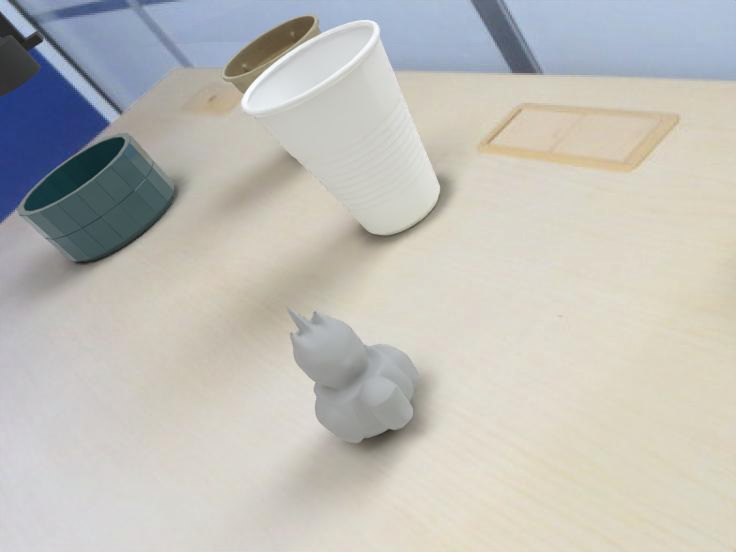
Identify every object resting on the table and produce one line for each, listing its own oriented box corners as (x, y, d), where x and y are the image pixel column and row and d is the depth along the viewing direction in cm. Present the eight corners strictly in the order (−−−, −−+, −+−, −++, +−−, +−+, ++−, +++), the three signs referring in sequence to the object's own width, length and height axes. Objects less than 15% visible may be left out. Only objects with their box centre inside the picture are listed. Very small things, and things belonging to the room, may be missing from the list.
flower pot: (351, 157, 64) (284, 59, 58) (271, 178, 68) (200, 88, 61) (392, 97, 69) (334, 1, 63) (315, 120, 73) (254, 32, 67)
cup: (401, 168, 59) (312, 28, 51) (491, 166, 53) (407, 9, 45) (321, 253, 55) (211, 116, 47) (410, 261, 49) (303, 107, 41)
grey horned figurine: (397, 366, 42) (307, 257, 36) (463, 404, 38) (373, 287, 32) (327, 435, 41) (221, 332, 35) (388, 482, 37) (279, 374, 31)
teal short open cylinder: (50, 274, 74) (-7, 225, 70) (121, 197, 81) (73, 148, 76) (131, 255, 69) (75, 201, 65) (199, 174, 76) (153, 121, 71)
